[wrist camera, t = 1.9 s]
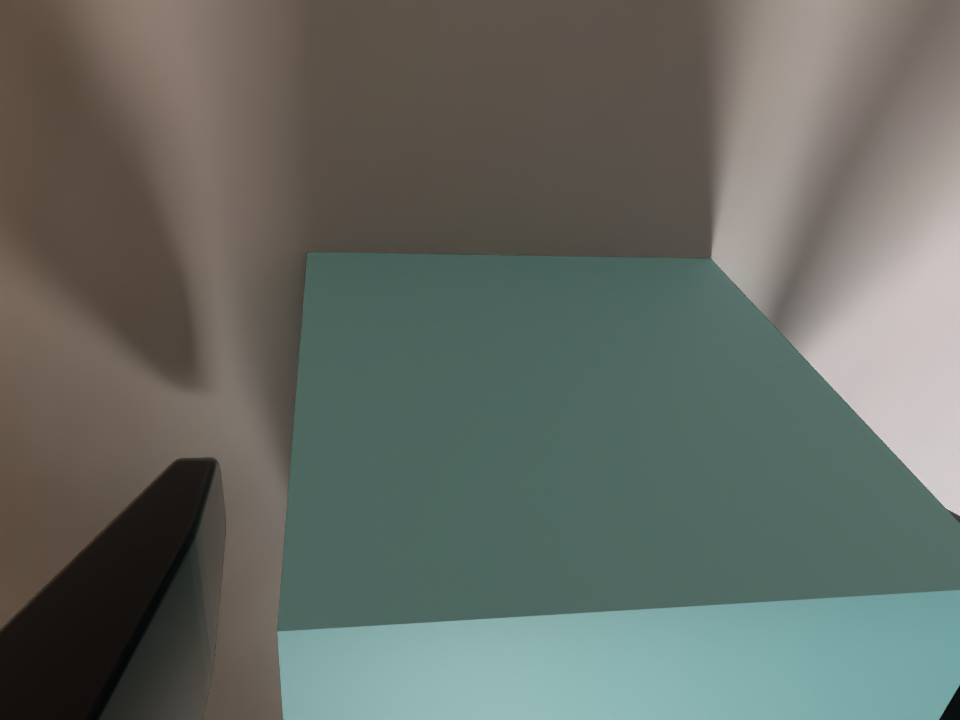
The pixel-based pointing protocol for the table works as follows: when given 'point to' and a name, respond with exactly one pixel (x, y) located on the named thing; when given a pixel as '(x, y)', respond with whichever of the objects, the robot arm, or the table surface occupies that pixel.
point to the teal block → (593, 506)
